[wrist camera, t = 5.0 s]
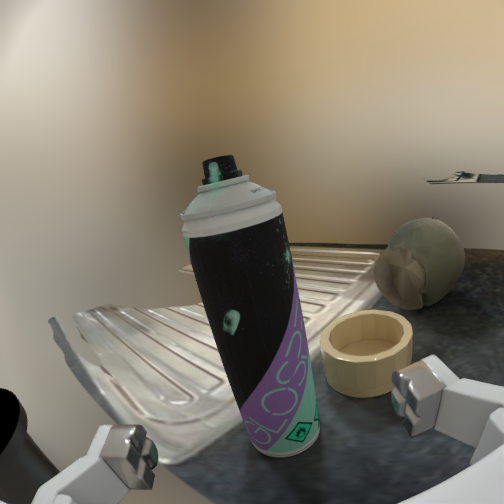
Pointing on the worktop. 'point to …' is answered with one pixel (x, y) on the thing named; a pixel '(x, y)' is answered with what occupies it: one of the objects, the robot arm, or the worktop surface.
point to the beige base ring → (365, 352)
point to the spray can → (253, 306)
